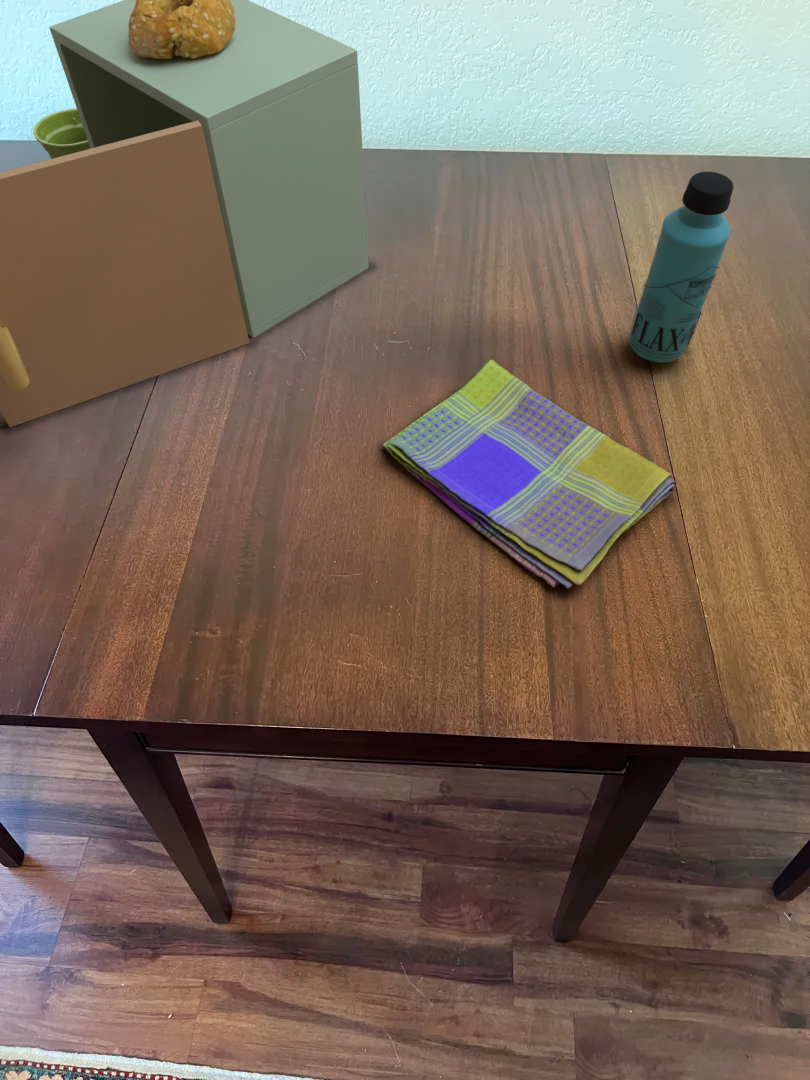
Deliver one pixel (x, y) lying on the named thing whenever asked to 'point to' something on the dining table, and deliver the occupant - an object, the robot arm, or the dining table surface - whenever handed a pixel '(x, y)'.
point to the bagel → (180, 27)
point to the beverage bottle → (682, 269)
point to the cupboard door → (111, 271)
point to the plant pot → (61, 133)
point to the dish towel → (530, 475)
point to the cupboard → (245, 141)
